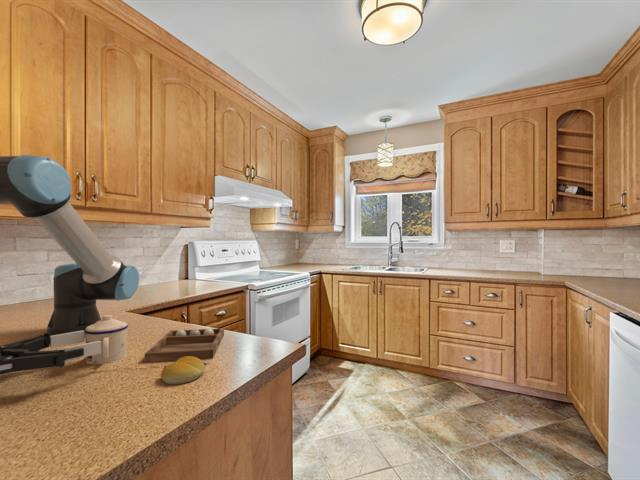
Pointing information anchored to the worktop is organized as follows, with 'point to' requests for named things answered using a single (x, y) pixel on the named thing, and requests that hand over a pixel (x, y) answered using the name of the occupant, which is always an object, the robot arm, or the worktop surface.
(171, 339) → the parts tray
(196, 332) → the pebble
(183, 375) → the bread roll
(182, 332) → the pebble
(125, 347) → the teacup with lid
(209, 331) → the pebble
